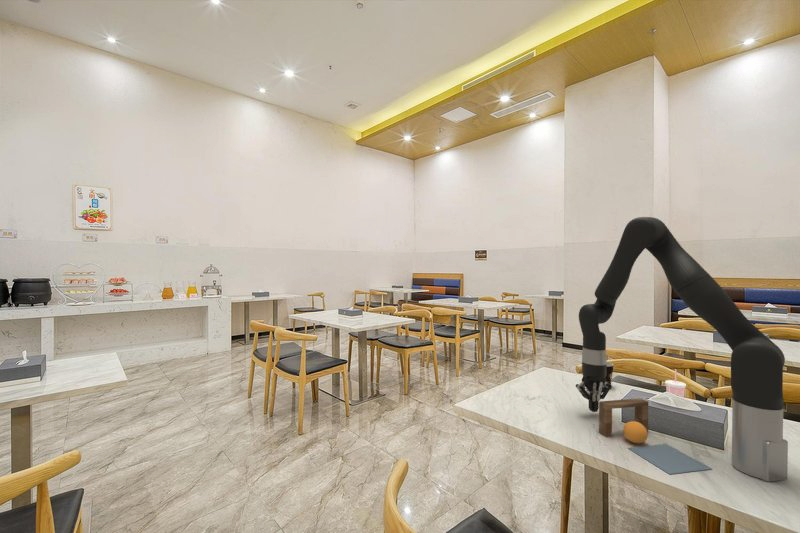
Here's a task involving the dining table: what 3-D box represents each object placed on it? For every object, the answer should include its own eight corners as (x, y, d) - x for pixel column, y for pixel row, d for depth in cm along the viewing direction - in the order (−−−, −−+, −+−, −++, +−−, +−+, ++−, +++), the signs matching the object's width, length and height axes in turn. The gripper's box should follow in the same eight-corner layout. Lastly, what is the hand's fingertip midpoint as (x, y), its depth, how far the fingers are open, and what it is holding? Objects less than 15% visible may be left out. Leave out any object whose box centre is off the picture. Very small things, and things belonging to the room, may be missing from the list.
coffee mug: (601, 382, 160) (601, 360, 160) (618, 388, 152) (618, 365, 152) (580, 385, 156) (580, 362, 156) (596, 391, 148) (597, 367, 148)
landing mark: (712, 469, 92) (712, 468, 92) (669, 474, 90) (669, 473, 90) (665, 444, 105) (665, 443, 105) (627, 448, 103) (627, 447, 103)
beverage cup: (690, 409, 130) (690, 371, 130) (675, 411, 129) (676, 372, 129) (674, 403, 136) (675, 366, 136) (660, 404, 135) (661, 367, 135)
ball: (644, 446, 106) (656, 437, 103) (627, 447, 105) (638, 438, 101) (632, 426, 111) (643, 416, 107) (615, 427, 110) (625, 418, 106)
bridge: (648, 432, 112) (648, 401, 112) (606, 437, 109) (606, 405, 109) (639, 428, 115) (640, 398, 115) (598, 432, 112) (599, 401, 112)
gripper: (584, 365, 120) (584, 417, 120) (619, 363, 122) (618, 414, 123) (569, 359, 127) (569, 408, 127) (602, 357, 130) (602, 405, 130)
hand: (593, 411), depth 125 cm, fingers closed
